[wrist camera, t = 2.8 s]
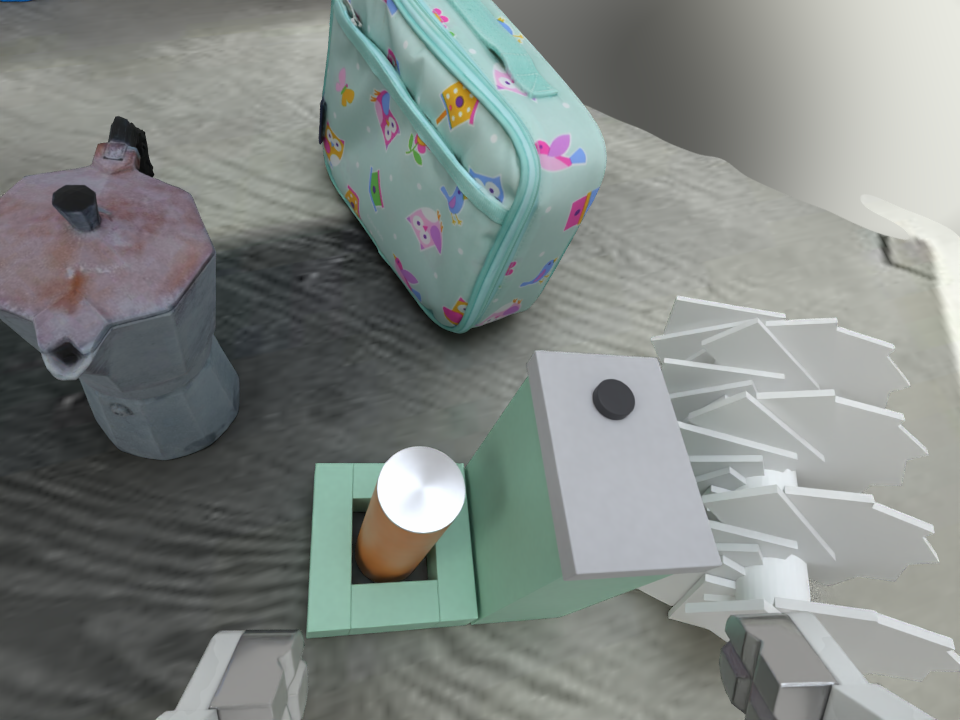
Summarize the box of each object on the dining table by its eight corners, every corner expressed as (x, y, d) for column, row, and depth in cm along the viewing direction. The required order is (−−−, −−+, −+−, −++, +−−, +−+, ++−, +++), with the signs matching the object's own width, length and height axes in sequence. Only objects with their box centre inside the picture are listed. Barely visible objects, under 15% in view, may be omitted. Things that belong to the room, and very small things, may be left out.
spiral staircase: (714, 429, 56) (717, 711, 41) (604, 323, 49) (556, 614, 34) (932, 368, 44) (1057, 740, 28) (827, 215, 37) (916, 597, 21)
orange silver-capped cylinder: (354, 586, 36) (377, 534, 26) (354, 518, 38) (376, 445, 28) (421, 582, 37) (469, 531, 27) (418, 516, 39) (461, 446, 29)
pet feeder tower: (466, 630, 36) (582, 571, 22) (453, 474, 42) (539, 342, 27) (565, 621, 38) (732, 562, 24) (540, 473, 44) (664, 351, 29)
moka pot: (70, 514, 34) (-138, 325, 17) (103, 307, 41) (-21, 39, 25) (242, 496, 37) (201, 322, 21) (243, 307, 44) (214, 70, 28)
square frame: (306, 638, 34) (306, 632, 31) (314, 478, 39) (315, 462, 36) (466, 625, 36) (478, 618, 34) (454, 478, 42) (464, 463, 39)
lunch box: (298, 154, 55) (301, -107, 37) (389, 136, 60) (428, -101, 43) (444, 364, 47) (534, 154, 29) (535, 323, 52) (657, 123, 34)
